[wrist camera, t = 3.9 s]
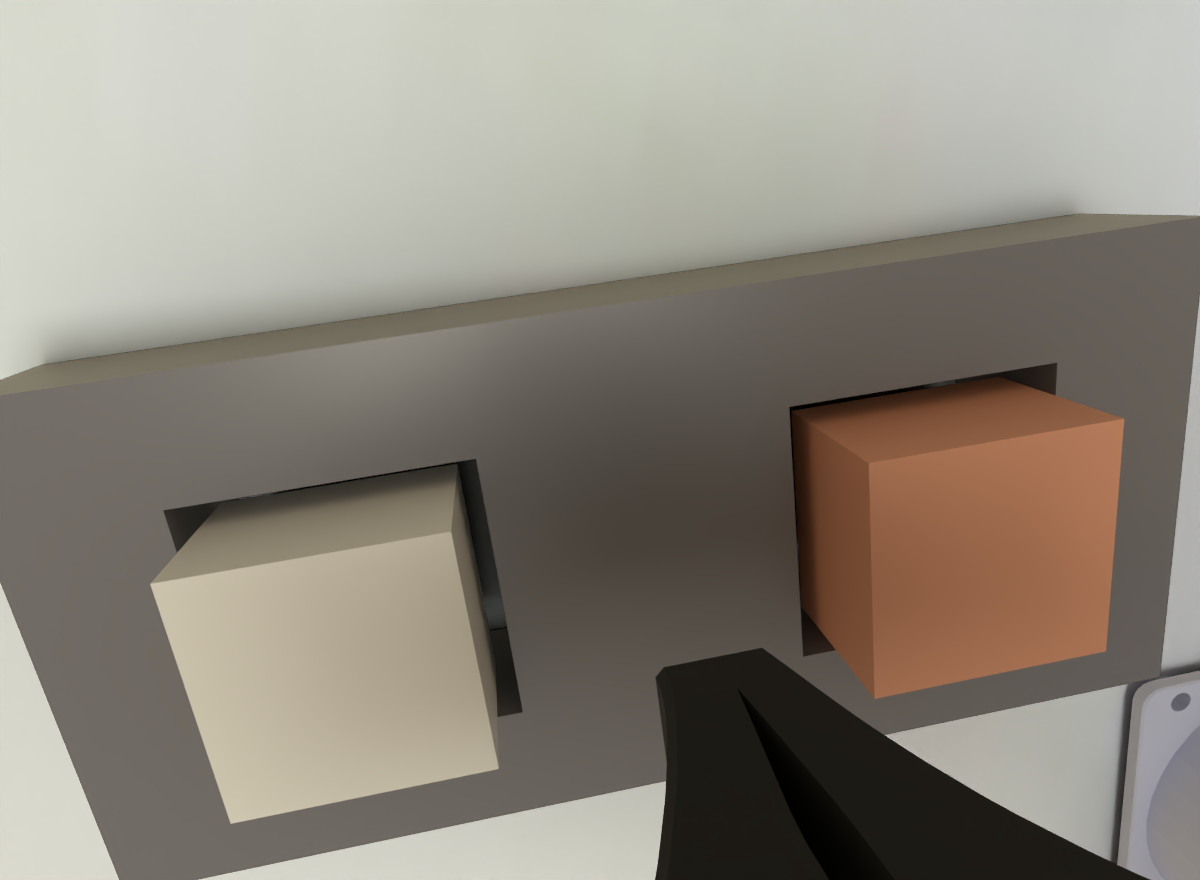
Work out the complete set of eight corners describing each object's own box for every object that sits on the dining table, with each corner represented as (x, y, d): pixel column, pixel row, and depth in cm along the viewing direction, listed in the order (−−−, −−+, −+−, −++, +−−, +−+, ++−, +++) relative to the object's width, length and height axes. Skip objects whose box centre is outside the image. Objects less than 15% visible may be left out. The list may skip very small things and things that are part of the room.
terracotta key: (998, 376, 15) (1124, 418, 12) (993, 570, 16) (1105, 651, 13) (790, 411, 14) (869, 463, 11) (802, 607, 15) (874, 698, 13)
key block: (1078, 213, 16) (1207, 216, 13) (1056, 604, 19) (1160, 677, 16) (41, 365, 14) (-71, 405, 11) (185, 777, 17) (125, 894, 14)
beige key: (457, 463, 14) (450, 532, 11) (495, 661, 15) (498, 768, 12) (220, 502, 13) (150, 584, 10) (280, 702, 15) (230, 823, 12)
